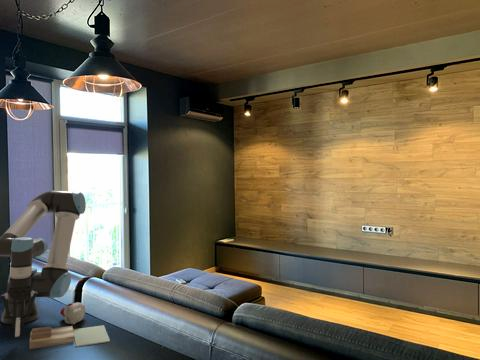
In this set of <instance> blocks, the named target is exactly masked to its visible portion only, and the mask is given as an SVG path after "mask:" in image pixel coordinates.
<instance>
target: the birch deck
mask: <svg viewBox="0 0 480 360" xmlns="http://www.w3.org/2000/svg"><path fill="white" fill-rule="evenodd" d="M73 329H74V328H73V325H70V326H69V325H68V326H61V327H55V328H53V327H51V337H49V338H42V339H35V340H31V336H32V330H31V331H30V334H29V336H30V337H29V350H32V349H40V348H46V347H52V346H58V345H65V344H72V343H75V338H74V332H73Z"/></svg>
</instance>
